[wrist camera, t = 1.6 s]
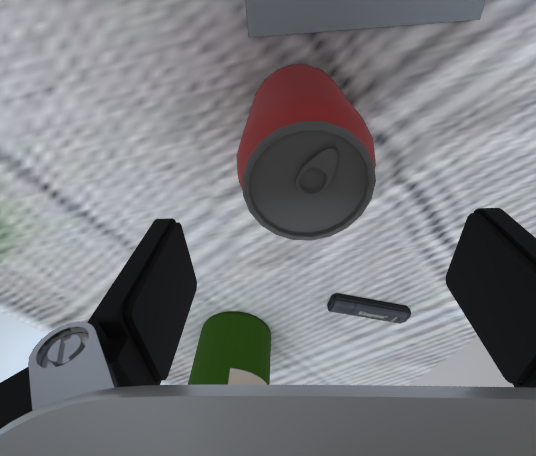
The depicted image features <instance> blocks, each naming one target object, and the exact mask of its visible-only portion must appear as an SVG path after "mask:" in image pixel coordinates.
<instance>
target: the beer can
mask: <svg viewBox="0 0 536 456" xmlns="http://www.w3.org/2000/svg"><path fill="white" fill-rule="evenodd" d="M375 166H376V164H375V153H374V144H373V137H372V135H371V134H370V132H369V130H368V128H367V126H366V124H365V122H364V120H363V118H362V117H361V116H360V114H359V113H358V112H357V110H356V109H355V108H354V107H353V105H352V104H351V103H350V101H349V100H348V99H347V98H346V96H345V95H344V94H343V92H342V91H341V90H340V89H339V87H338V86H337V85H336V83H335V82H334V81H333V80H332V79H331V78H330V77H329V76H328V75H327V74H325V73H324V72H323V71H322V70H319V69H317V68H314V67H312V66H309V65H290V66H287V67H284V68H281V69H278V70H277V71H275V72H274V73H273V74H272V75H270V76H269V77H268V78H266V79H265V80H264V82H263V83H262V85H261V86H260V88H259V89H258V91H257V92H256V95H255V98H254V102H253V105H252V108H251V111H250V114H249V117H248V120H247V123H246V126H245V129H244V132H243V135H242V139H241V142H240V146H239V149H238V153H237V170H238V179H239V182H240V185H241V187H242V190H243V197H244V199H245V201H246V204H247V206H248V209H249V211H250V213H251V214H252V215H253V216H254V217H255V219H256V220H257V221H258V222H259V223H260V224H261V225H262V226H263V227H265V228H266V229H268V230H270V231H271V232H273V233H274V234H276V235H279V236H282V237H286V238H289V239H293V240H316V239H320V238H325V237H329V236H332V235H334V234H336V233H338V232H340V231H342V230H344V229H346V228H348V227H349V226H350V225H351V224H352V223H353V222H354V221H355V220H357V219H358V218H359V217H360V216H361V215H362V213H363V212H364V210H365V209H366V207H367V205H368V204H369V202H370V201H371V199H372V194H373V190H374V186H375V182H376V178H375Z"/></svg>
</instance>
